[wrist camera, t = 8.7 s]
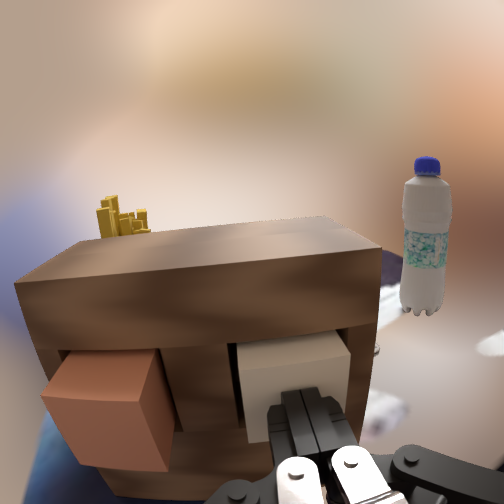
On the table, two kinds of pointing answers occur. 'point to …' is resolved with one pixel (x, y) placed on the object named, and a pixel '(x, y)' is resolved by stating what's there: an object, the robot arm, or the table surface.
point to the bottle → (425, 238)
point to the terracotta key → (114, 408)
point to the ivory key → (289, 373)
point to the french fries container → (120, 220)
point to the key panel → (208, 326)
